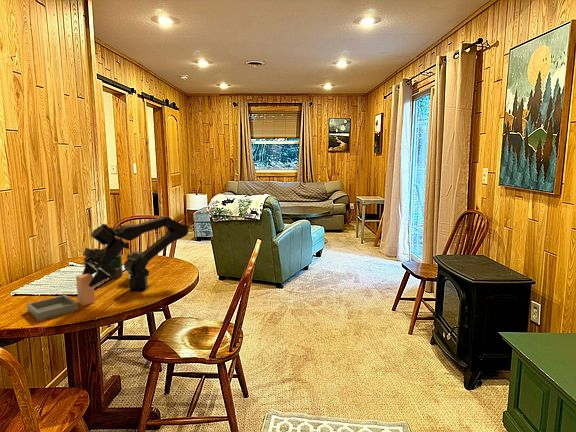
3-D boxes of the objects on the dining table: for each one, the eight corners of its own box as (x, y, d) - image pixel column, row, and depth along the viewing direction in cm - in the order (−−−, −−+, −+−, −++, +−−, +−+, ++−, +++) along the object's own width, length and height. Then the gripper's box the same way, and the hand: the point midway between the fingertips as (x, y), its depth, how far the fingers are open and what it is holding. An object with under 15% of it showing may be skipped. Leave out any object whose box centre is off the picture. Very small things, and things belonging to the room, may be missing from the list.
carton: (90, 299, 160) (88, 273, 159) (94, 302, 157) (92, 275, 156) (78, 302, 157) (76, 275, 155) (82, 305, 154) (80, 278, 152)
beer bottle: (126, 275, 193) (123, 226, 189) (114, 280, 185) (110, 229, 182) (113, 274, 195) (110, 226, 191) (101, 278, 188) (97, 228, 184)
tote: (65, 302, 158) (65, 294, 157) (78, 310, 149) (77, 303, 148) (27, 311, 148) (26, 303, 148) (38, 321, 139) (37, 313, 139)
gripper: (86, 236, 164) (59, 268, 157) (106, 243, 151) (77, 277, 145) (107, 252, 170) (82, 282, 164) (127, 259, 158) (100, 293, 152)
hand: (84, 283), depth 156 cm, fingers open, 9 cm apart
